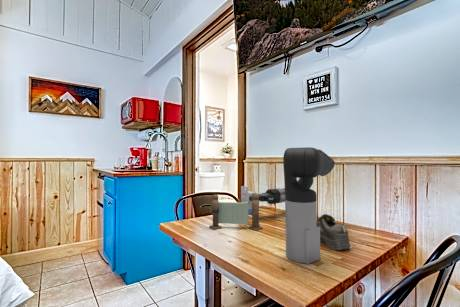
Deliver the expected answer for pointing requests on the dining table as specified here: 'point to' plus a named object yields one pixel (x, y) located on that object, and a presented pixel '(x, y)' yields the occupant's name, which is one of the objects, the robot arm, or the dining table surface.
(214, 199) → the post
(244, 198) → the ink box
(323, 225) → the hiking shoe
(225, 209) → the gate
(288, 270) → the dining table surface
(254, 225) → the hinge post
